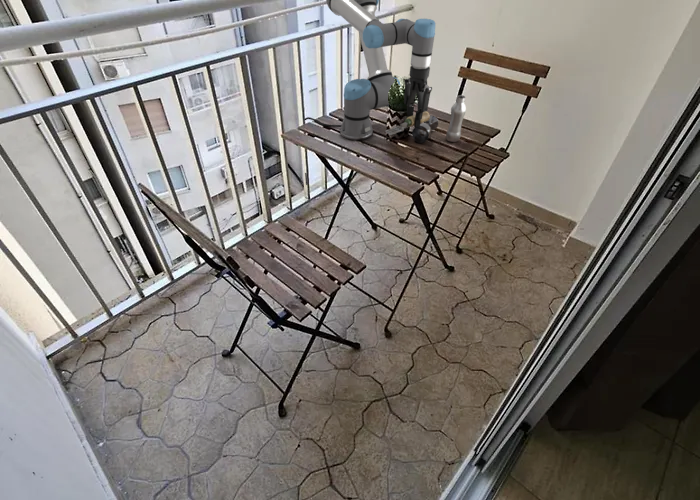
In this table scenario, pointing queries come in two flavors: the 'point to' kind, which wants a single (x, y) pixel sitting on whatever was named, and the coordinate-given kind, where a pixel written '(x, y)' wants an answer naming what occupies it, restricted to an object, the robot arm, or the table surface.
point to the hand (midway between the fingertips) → (413, 124)
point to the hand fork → (408, 123)
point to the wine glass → (424, 130)
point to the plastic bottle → (456, 119)
